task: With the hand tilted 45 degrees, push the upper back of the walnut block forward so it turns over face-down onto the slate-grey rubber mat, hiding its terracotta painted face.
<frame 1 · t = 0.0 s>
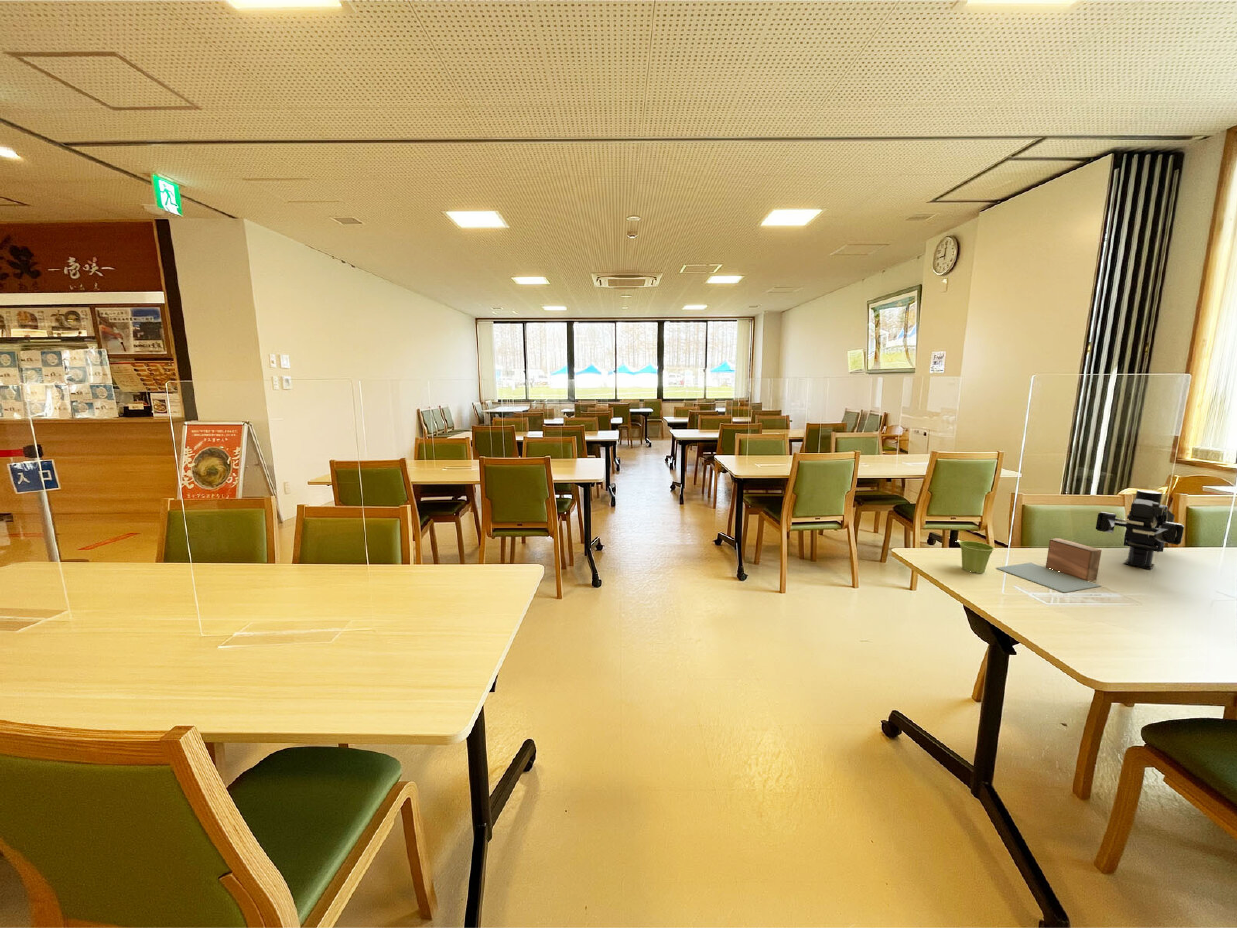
hand: (1132, 532, 150), 17 cm above the table, tool horizontal, fingers open, 9 cm apart
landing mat: (1046, 577, 158), on the table
walnut block: (1070, 573, 161), on the table
plant pot: (973, 570, 164), on the table
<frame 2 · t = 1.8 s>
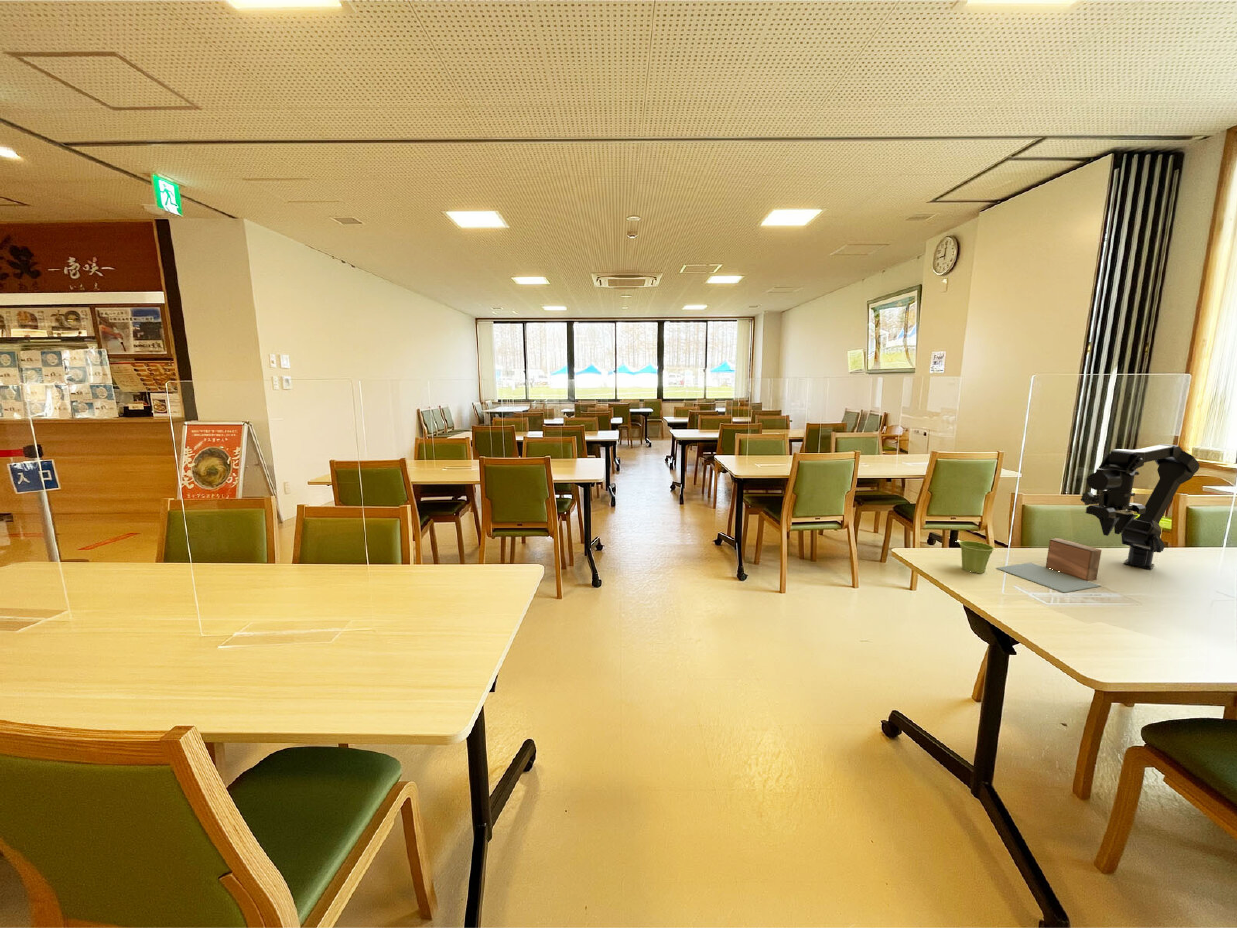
hand: (1111, 534, 162), 12 cm above the table, tool pointing down, fingers open, 5 cm apart
nothing on the table moved.
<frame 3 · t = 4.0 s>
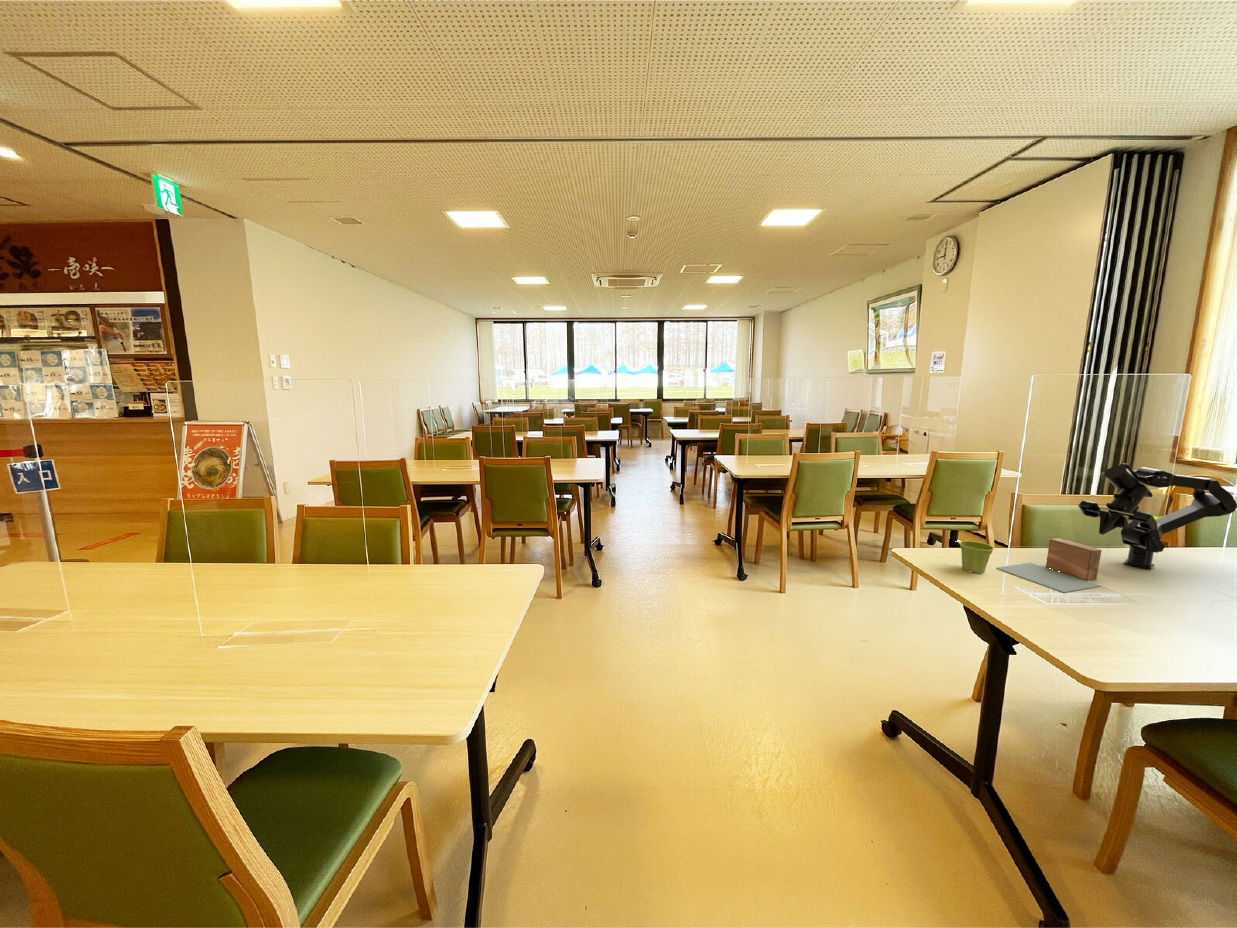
hand: (1100, 533, 162), 12 cm above the table, tool tilted 45°, fingers closed
nothing on the table moved.
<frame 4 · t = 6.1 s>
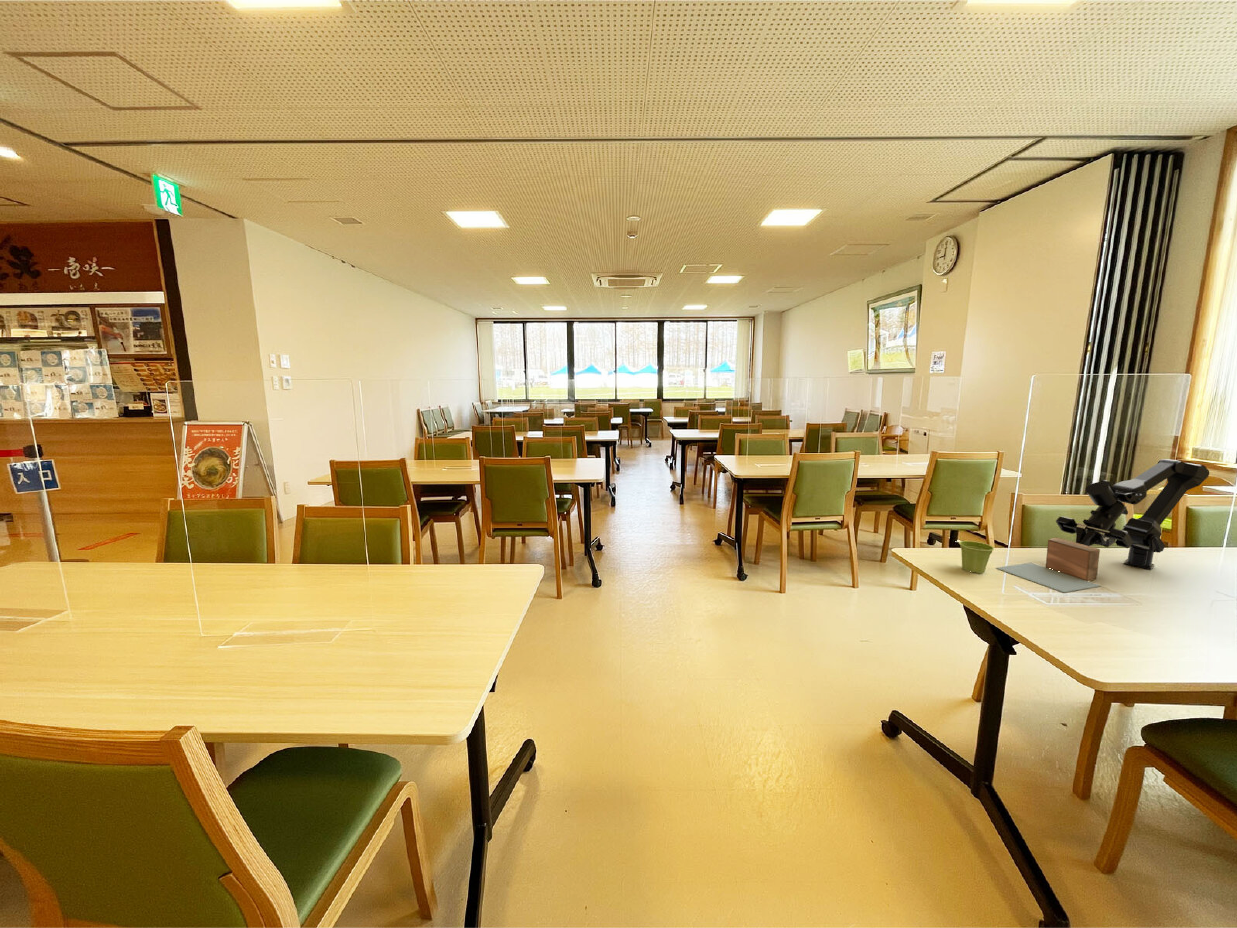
hand: (1076, 550, 160), 8 cm above the table, tool tilted 45°, fingers closed
nothing on the table moved.
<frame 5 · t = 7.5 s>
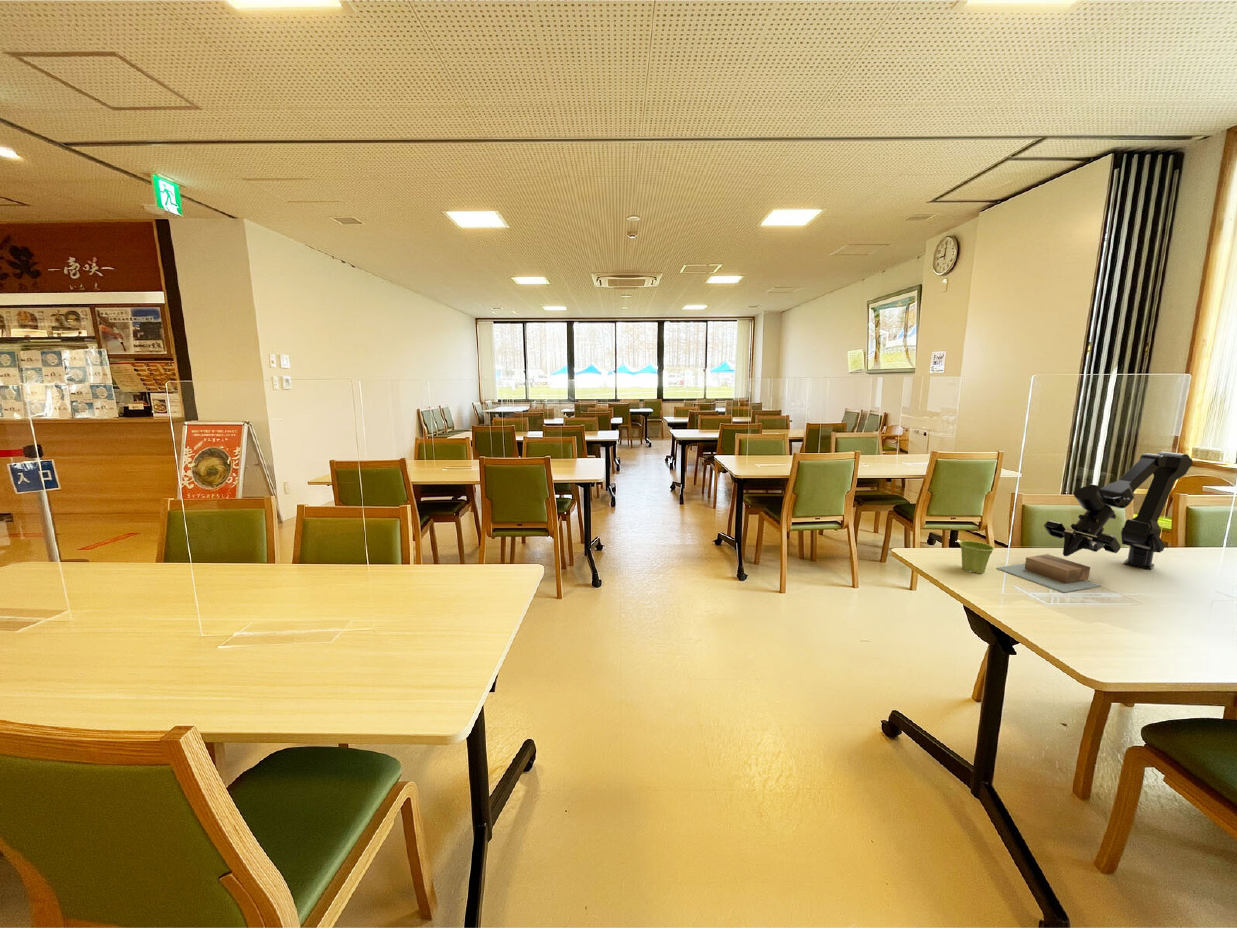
hand: (1064, 555, 159), 7 cm above the table, tool tilted 45°, fingers closed
walnut block: (1067, 566, 160), point 3 cm above the table, tilted 90°, touching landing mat
everything else where it was.
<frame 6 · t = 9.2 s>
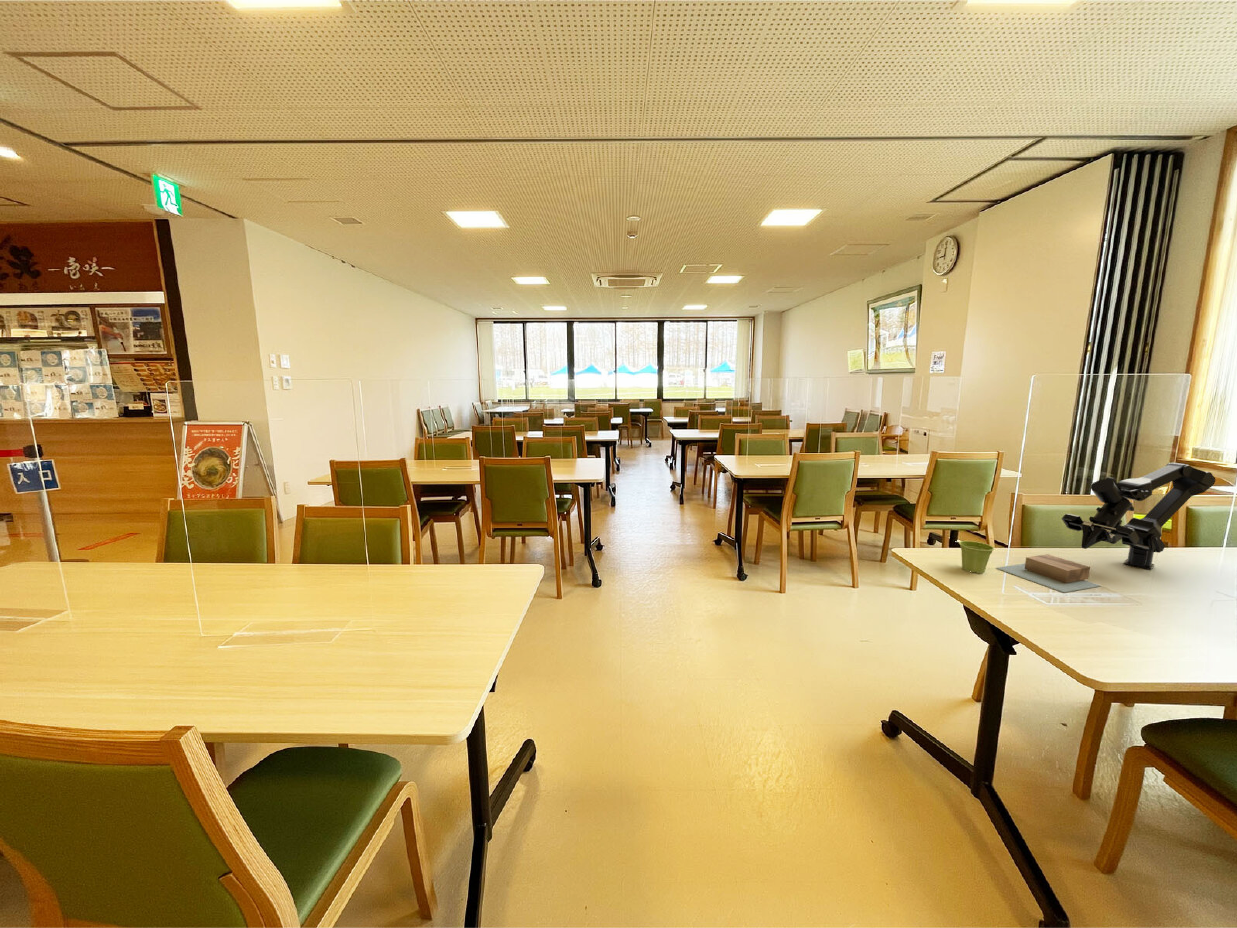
hand: (1083, 547, 161), 8 cm above the table, tool tilted 45°, fingers closed
nothing on the table moved.
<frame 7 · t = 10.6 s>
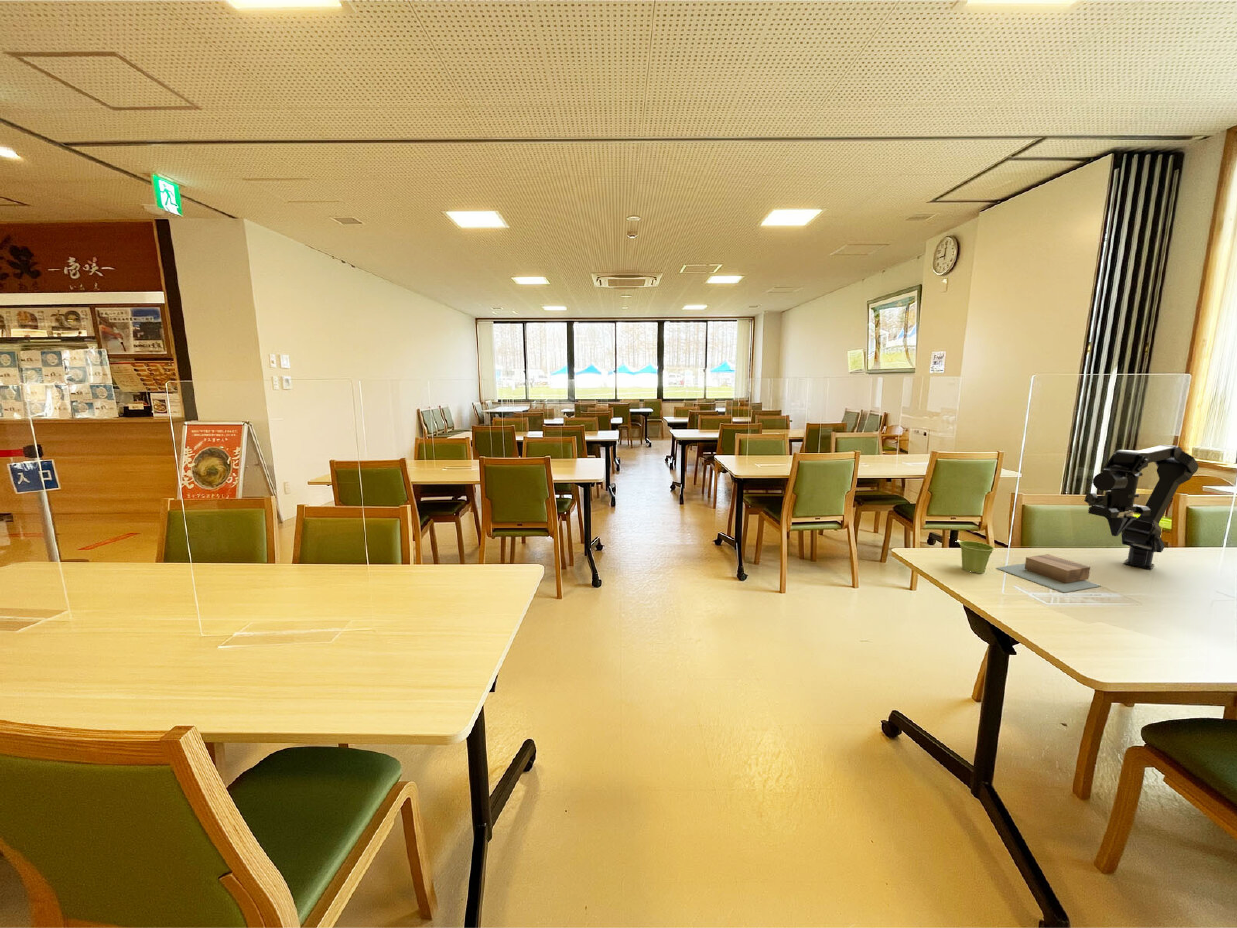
hand: (1114, 535, 161), 12 cm above the table, tool pointing down, fingers closed
nothing on the table moved.
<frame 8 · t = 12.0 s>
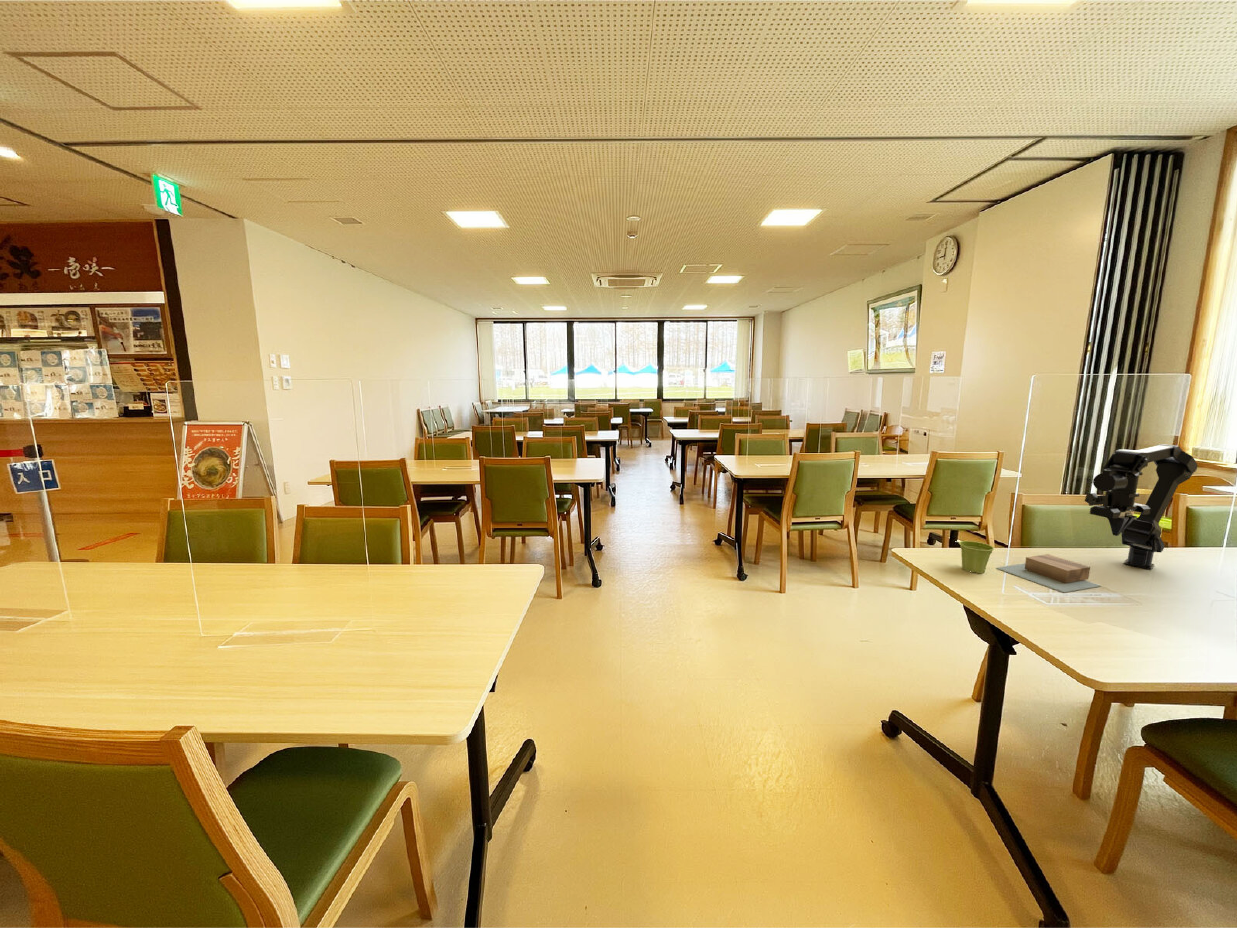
hand: (1115, 535, 161), 12 cm above the table, tool pointing down, fingers closed
nothing on the table moved.
at the end: walnut block tilted 90°; walnut block touching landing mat; walnut block inside the target area (0.8 cm from its centre), point 2.6 cm above the table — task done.
